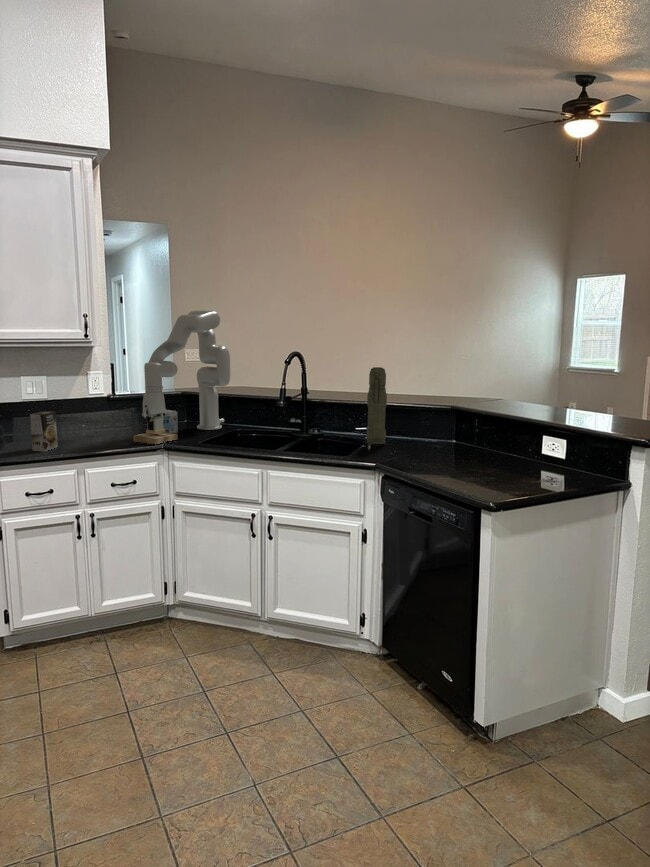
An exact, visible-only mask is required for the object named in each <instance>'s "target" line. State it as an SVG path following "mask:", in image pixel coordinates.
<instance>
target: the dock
mask: <svg viewBox="0 0 650 867" xmlns="http://www.w3.org/2000/svg"><path fill="white" fill-rule="evenodd" d="M132 437H133V438H132V439H133V442H134V441H135V442H134V443H136V442H141V443H140V444H142V443H147V444H146V445H148V444H155V445H156V444H160V443H163V442H167V441H172V440H177V439H178V438H179V436H178V433H166V432H162V433H157V434H153V433H146V432H145V433H140V434H139V433H138V434H135V435H132ZM178 440H179V439H178ZM160 445H161V444H160ZM156 446H157V445H156Z"/></svg>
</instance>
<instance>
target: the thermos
mask: <svg viewBox="0 0 650 867" xmlns="http://www.w3.org/2000/svg"><path fill="white" fill-rule="evenodd" d="M368 376H369V378H368V385H369V388H368V392H367V397H366V398H367V399H366V400H367V405H366V406H367V408H368V409H367V428H366V438H365V439H366V444H367V443H368V444H367V445H369V444H384V445H386V439H387V430H386V408H387V404H388V403H387V401H388V400H387V398H388V394H387V390H386V385H387V384H386V383H387V381H386V380H387V374H386V370H385V368H384V367H382V366H381V367H380V366H379V367H374V366H373V367H371V368H370V371H369V375H368Z"/></svg>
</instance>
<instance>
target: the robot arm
mask: <svg viewBox="0 0 650 867" xmlns="http://www.w3.org/2000/svg"><path fill="white" fill-rule="evenodd" d="M220 323H221V316H220V315H219V313H218V312H217V311H214V310H191V311H190V312H188V314H182V315H179V316H178V317H177V319H176V321H175V322H174V325H173V328H172V329H171V331H170V334H169V336H168V338H167V340H165V341H164V342H162V343H161V344H160V345H159V346H158V347H157V348H156V349H155V350H153V352H152V353H151V356H150V358H149V360H148V362H145V363H144V366H143V368H144V369H143V370H144V372H143V373H144V393H143V398H142V414H141V416H142V418H144V419H145V420H146V422H147V421H148V427H147V430H154V425H153V421H152V420H153V415H156V414H157V416H163V419H164V416H165V414H166V413H167V410H168V409H167V408H166V402H165V396H164V392H163V389H164V386H163V378H173V377H175V376H176V375H177V373H178V366H177V364H176V363H175V362H173V361H169V360H166V358H168V357H169V356H171V355H172V354H175V353H178V352H179V351H181V350H184V348H186V345H187V342H188V341H189V338H190V336H191V334H193V333H197V334H196V335H197V336H198V356H199V357H198V358H199V361H200V363H203V364H206V365H216V366H202V367H200V368H199V369H198V370H197V373H196V381H197V385H198V396H199V397H198V400H199V424H198V425H197V426H196V428H197V429H198V430H201V431H202V430H203V431H211V430H212V431H215V430H220V429H222V428H223V427H222V426H223V425H222V424H221V423H224V422H225V419H224V418H219V392H218V389H217V387H226V386H227V385H228V384H229V383H230V380H231V355H230V350H229V349H228V347H226V346H224V345H217V340H216V333H215V331H214V329H217V328H218V327H219V325H220Z"/></svg>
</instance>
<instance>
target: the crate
mask: <svg viewBox="0 0 650 867" xmlns="http://www.w3.org/2000/svg"><path fill="white" fill-rule="evenodd" d="M152 421H153V425H154V430H148V429H145V433H153V434H157V433H162V432H165V429H163V416H153V420H152ZM146 423H147V426H146V427H147V428H148V421H146Z"/></svg>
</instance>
